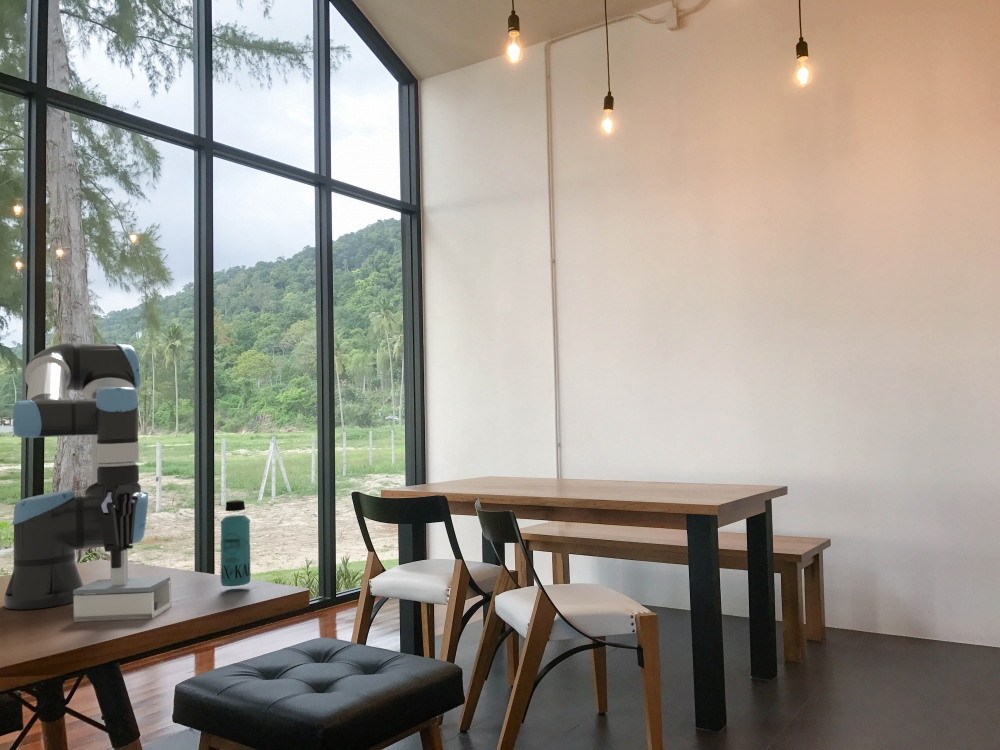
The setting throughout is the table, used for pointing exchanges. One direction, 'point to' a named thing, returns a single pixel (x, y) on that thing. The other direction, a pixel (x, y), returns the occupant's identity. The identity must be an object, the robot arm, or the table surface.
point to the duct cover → (122, 586)
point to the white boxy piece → (122, 605)
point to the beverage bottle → (235, 547)
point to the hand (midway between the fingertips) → (119, 583)
